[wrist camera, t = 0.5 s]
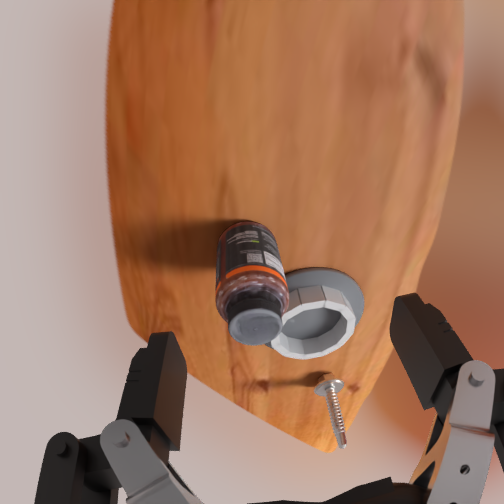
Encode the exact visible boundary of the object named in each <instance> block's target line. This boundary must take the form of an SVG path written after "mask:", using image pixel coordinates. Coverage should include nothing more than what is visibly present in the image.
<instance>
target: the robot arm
mask: <svg viewBox="0 0 504 504" xmlns="http://www.w3.org/2000/svg"><path fill="white" fill-rule="evenodd" d="M390 337H391V341H392V343H393V345H394V347H395V349H396V351H397V353H398V355H399V357H400V359H401V361H402V364H403V366H404V368H405V370H406V372H407V374H408V376H409V378H410V380H411V382H412V384H413V387H414V389H415V391H416V393H417V395H418V398H419V400H420V402H421V404H422V407H423V409H424V410H426V409H429V408H432V407H435V409H436V411H437V413H436V414H435V417H434V420H433V424H432V427H431V430H430V434H429V436H428V440H427V443H426V446H425V449H424V451H423V454H422V457H421V459H420V462H419V464H418V465H417V467H416V469H415V470H414V473H413V474H412V477H411V479H410V481H409V483H392V480H391V477H388V478H385V479H381V480H378V481H374V482H371V483H368V484H364V485H360V486H357V487H355V488H353V489H351V490H349V491H347V492H344V493H342V494H340V495H338V496H336V497H334V498H332V499H329V500H327V501H324V502H299V501H286V500H281V501H272V502H262V503H249V504H479V503H480V499H481V496H482V492H483V489H484V485H485V482H486V478H487V474H488V470H489V466H490V461H491V456H492V451H493V446H494V447H495V449H496V452H497V455H498V458H499V460H500V463H501V466H502V469H503V472H504V369H495V370H492V369H491V368H490V367H489V366H488V365H487V364H486V363H484V362H482V361H477V360H473V359H472V357H471V355H470V354H469V352H468V351H467V349H466V348H465V346H464V345H463V343H462V342H461V340H460V339H459V337H458V336H457V334H456V333H455V331H453V330H452V327H451V326H450V324H449V323H447V320H446V319H445V317H444V316H443V314H442V313H441V312H440V310H438V309H437V308H435V307H434V306H432V305H431V304H429V303H428V304H424V303H423V301H422V300H421V299H420V297H419V296H418V294H416V293H411V294H406V295H402V296H398V297H396V298H395V301H394V307H393V312H392V318H391V323H390ZM186 380H187V365H186V361H185V358H184V356H183V353H182V351H181V349H180V347H179V344H178V342H177V340H176V337H175V335H174V333H173V332H172V331H170V332H159V333H152V334H151V335H150V338H149V342H148V346H147V348H140V349H139V351H138V352H137V353H136V354H135V356H134V357H133V359H132V361H131V365H130V368H129V373H128V375H127V379H126V381H127V382H126V383H125V387H124V391H123V394H122V399H121V403H120V406H119V410H118V415H117V418H116V420H115V421H113V422H111V423H110V424H108V425H107V426H106V427H105V428H104V430H103V431H102V433H101V434H100V435H97V436H92V437H87V438H83V439H77V438H76V437H75V436H74V435H72V434H71V433H68V432H60V433H58V434H56V435H54V436H53V437H52V438H51V439H50V440H49V442H48V444H47V447H46V450H45V454H44V459H43V463H42V468H41V472H40V477H39V481H38V487H37V492H36V497H35V503H34V504H117V503H118V490H119V488H121V487H123V488H124V490H125V492H126V494H127V496H128V498H127V499H126V503H127V504H204V503H203V502H201V500H200V499H199V498H198V497H197V496H196V495H195V494H194V492H193V491H192V490H191V489H190V488H189V486H188V485H187V484H186V483H185V481H184V480H183V479H182V478H181V476H180V475H179V474H178V472H177V471H176V470H175V468H174V467H173V466H172V464H171V463H170V462H169V461H168V460H169V451H179V450H180V440H181V429H182V418H183V408H184V398H185V388H186Z"/></svg>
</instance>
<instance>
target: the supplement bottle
mask: <svg viewBox="0 0 504 504" xmlns="http://www.w3.org/2000/svg"><path fill="white" fill-rule="evenodd" d="M288 305H289V291H288V287H287V282H286V278H285V274H284V270H283V266H282V262H281V259H280V254H279V250H278V247H277V243H276V240H275V237H274V235H273V234H272V232H271V231H270V230H269V229H268V228H267V227H265V226H264V225H262V224H259V223H256V222H240V223H236V224H234V225H232V226H230V227H229V228H228V229H226V230H225V231H224V232H223V234H222V235H221V236H220V238H219V241H218V246H217V264H216V306H217V310H218V312H219V314H220V316H221V317H222V318H223V319H224V320H225V321H226V322H227V323H228V330H229V333H230V335H231V336H232V337H233V339H235V340H236V341H238V342H240V343H242V344H245V345H262V344H265V343H268V342H270V341H272V340H274V339H275V338H276V337H277V336H278V335H279V334H280V333H281V331H282V328H283V323H282V317H283V315H284V314H285V312H286V310H287V308H288Z"/></svg>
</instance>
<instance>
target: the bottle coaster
mask: <svg viewBox="0 0 504 504" xmlns="http://www.w3.org/2000/svg"><path fill="white" fill-rule="evenodd" d="M285 278H286V282H287V287H288V291H289V305H288V308H287V310H286V312H285V314H284V315H283V317H282V323H283V328H282V331H281V333H280V334H279V335H278V336H277V337H276V338H275V339H274V340H272V341H270V342H268V343H265V345H267V346H268V347H270V348H272V349H275V350H277V351H278V352H279V353H280V354H282V355H283V356H285V357H290V358H296V359H310V358H316V357H321V356H323V355H324V356H325V355H327V354H328V353H330V352H332V351H334V350H336V349H338V348H340V347H341V346H343V344H344V343H345V342H346V341H347V340H348V339H349V338H350V336H351V335H352V334H353V332H354V328H355V326H356V325H357V324H358V322H359V320H360V319H361V316H362V314H363V310H364V297H363V294H362V291H361V289H360V287H359V286H358V284H357V283H356V281H355V280H354V279H353V278H352V277H350V276H349V275H347V274H346V273H344V272H341V271H339V270H336V269H332V268H324V267H314V268H305V269H301V270H297V271H294V272H291V273H288V274H286V275H285Z"/></svg>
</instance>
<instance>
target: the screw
mask: <svg viewBox="0 0 504 504" xmlns="http://www.w3.org/2000/svg"><path fill="white" fill-rule="evenodd" d="M318 380H319V383H318V384H317V385H316V386H315V387H314V392H315V394H317V395H319V396H325V397H326V401H327V404H328V405H327V406H328V407H329V408H328V410H329V413H330V417H331V418H330V419H331V420H332V421H331V423H332V427H333V430H334V433H335V436H336V438H337V442H338V445H339V447H340V448H343V449H344V448H345V447H346V445H347V441H346V436H345V430H344V428H345V427H344V423H343V421H344V420H342V418H343V417H341V415H342V413H340V412H341V410H340V407H339V405H340V404H338V402H339V401H338V400H337V399H338V397H336V396H337V394H336V393H338V392H339V391H340V390H341V389H342V388H343V386H344V382H343V380H342V379H339V378H335V376H334V375H333V374H332V373H329V374H323V375H322V376H321V377H320V378H319V379H318Z"/></svg>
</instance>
